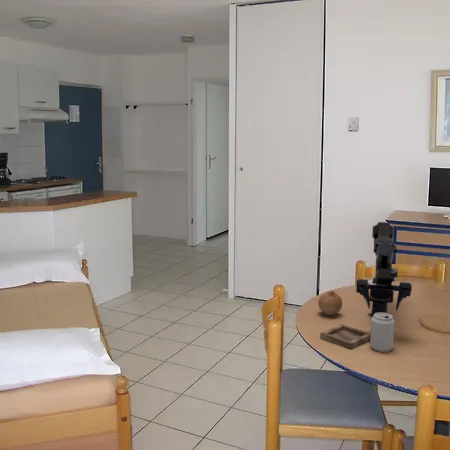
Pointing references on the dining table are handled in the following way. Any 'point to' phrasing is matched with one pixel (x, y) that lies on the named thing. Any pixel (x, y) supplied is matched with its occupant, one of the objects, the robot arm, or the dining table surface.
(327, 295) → the onion
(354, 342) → the brown wooden tray
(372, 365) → the dining table surface
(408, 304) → the dining table surface
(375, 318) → the can
